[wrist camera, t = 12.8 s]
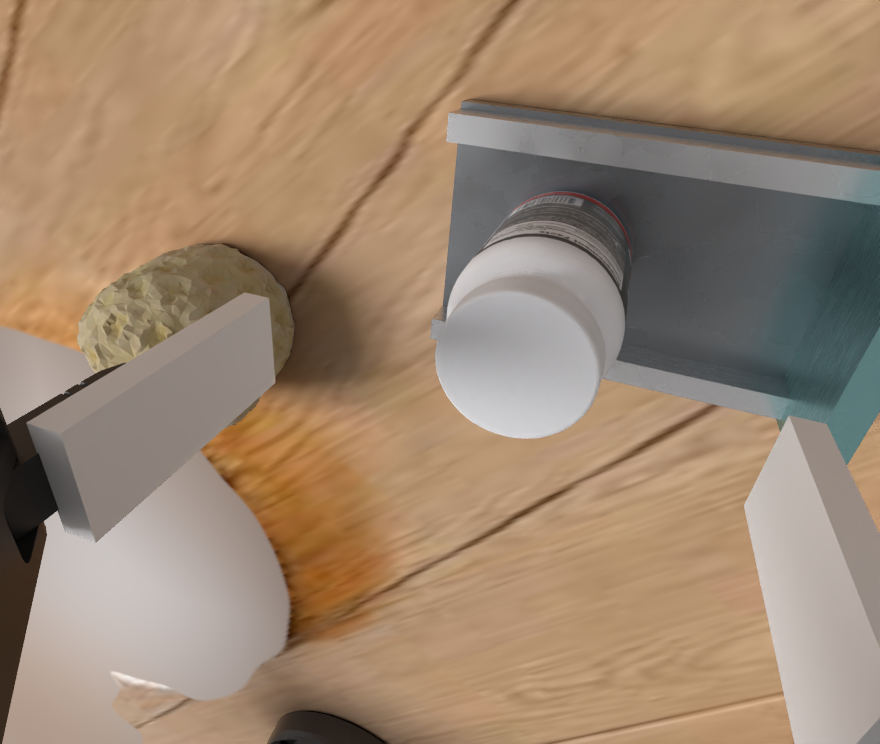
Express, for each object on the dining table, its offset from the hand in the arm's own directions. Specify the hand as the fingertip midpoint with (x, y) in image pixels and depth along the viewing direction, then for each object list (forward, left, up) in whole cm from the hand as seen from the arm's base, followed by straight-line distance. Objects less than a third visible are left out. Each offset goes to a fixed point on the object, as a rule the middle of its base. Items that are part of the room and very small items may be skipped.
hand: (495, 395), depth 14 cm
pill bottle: (0, 0, -12) cm, 12 cm away
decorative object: (-18, -8, -13) cm, 23 cm away
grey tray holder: (+3, 0, -12) cm, 13 cm away
